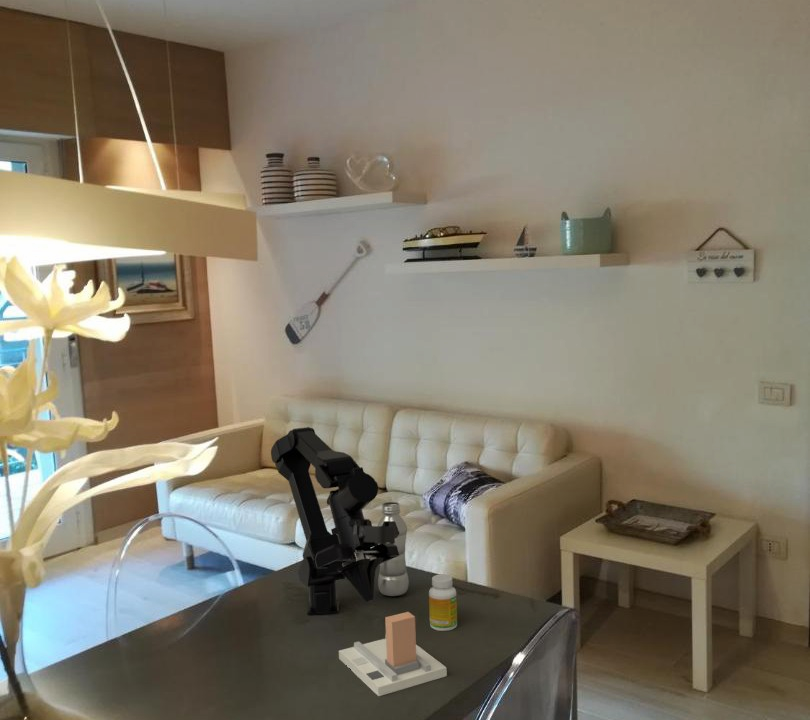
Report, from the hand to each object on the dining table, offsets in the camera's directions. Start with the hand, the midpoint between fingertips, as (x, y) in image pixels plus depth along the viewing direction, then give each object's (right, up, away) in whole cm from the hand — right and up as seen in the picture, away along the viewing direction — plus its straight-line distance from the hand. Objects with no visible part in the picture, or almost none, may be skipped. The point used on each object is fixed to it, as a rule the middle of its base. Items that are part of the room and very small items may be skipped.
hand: (369, 601), depth 148 cm
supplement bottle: (+14, -8, +11) cm, 19 cm away
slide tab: (+6, -8, -10) cm, 14 cm away
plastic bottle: (+4, -7, +28) cm, 29 cm away
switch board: (+4, -10, -6) cm, 12 cm away
